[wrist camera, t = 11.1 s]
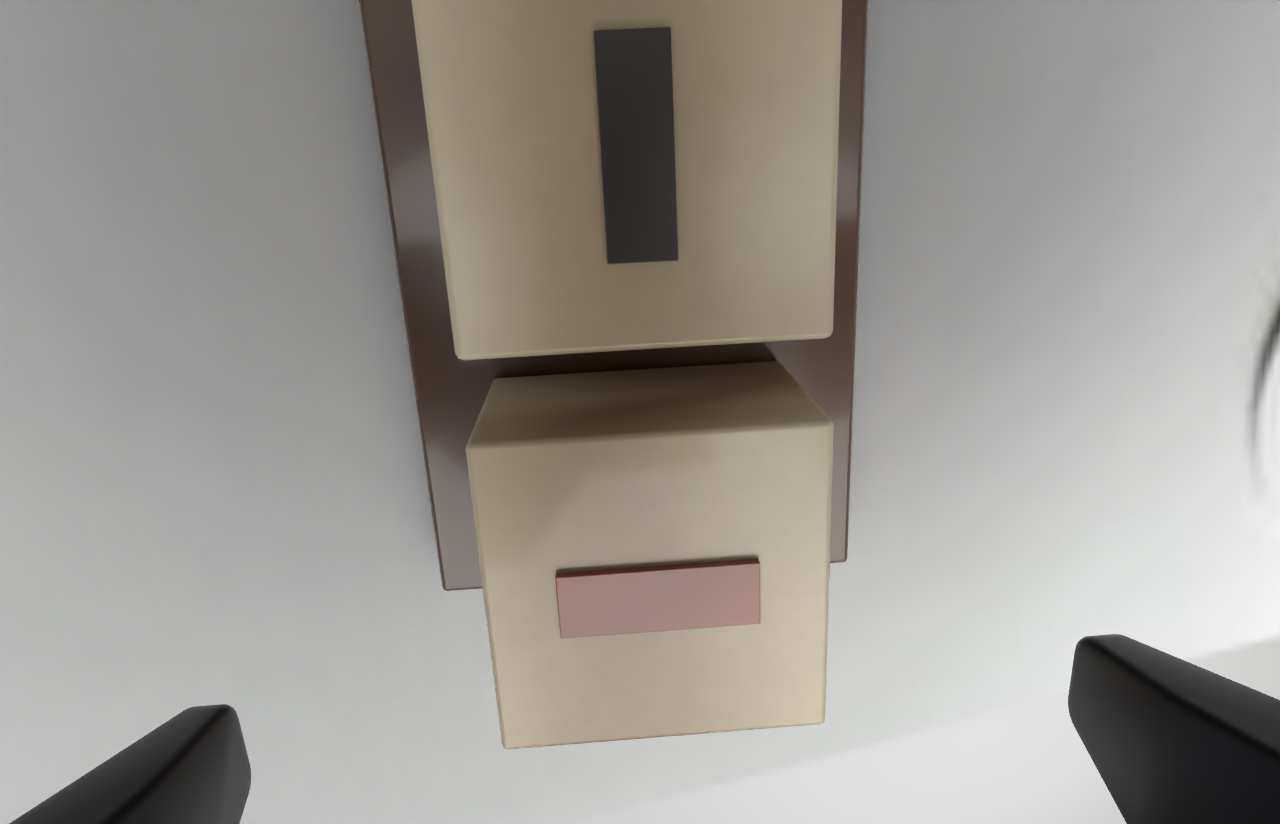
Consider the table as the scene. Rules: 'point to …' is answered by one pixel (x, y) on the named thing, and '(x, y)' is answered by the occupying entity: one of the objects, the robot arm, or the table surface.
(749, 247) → the board
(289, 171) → the table surface
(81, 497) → the table surface
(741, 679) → the beige block with stripe
